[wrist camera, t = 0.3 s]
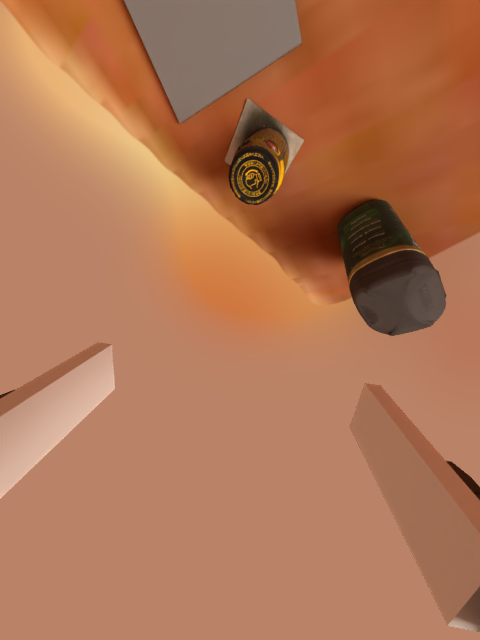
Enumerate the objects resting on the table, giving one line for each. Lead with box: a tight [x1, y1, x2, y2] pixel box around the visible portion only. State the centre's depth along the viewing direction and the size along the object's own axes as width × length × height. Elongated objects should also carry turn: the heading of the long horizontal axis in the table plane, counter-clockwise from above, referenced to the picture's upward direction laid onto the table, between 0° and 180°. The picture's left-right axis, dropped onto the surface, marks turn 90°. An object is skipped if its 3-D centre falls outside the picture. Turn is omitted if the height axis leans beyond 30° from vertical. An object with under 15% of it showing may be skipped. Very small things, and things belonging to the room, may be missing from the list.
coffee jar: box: [338, 200, 446, 336], centre depth 29 cm, size 10×8×19 cm
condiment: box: [224, 98, 304, 205], centre depth 27 cm, size 7×8×12 cm
